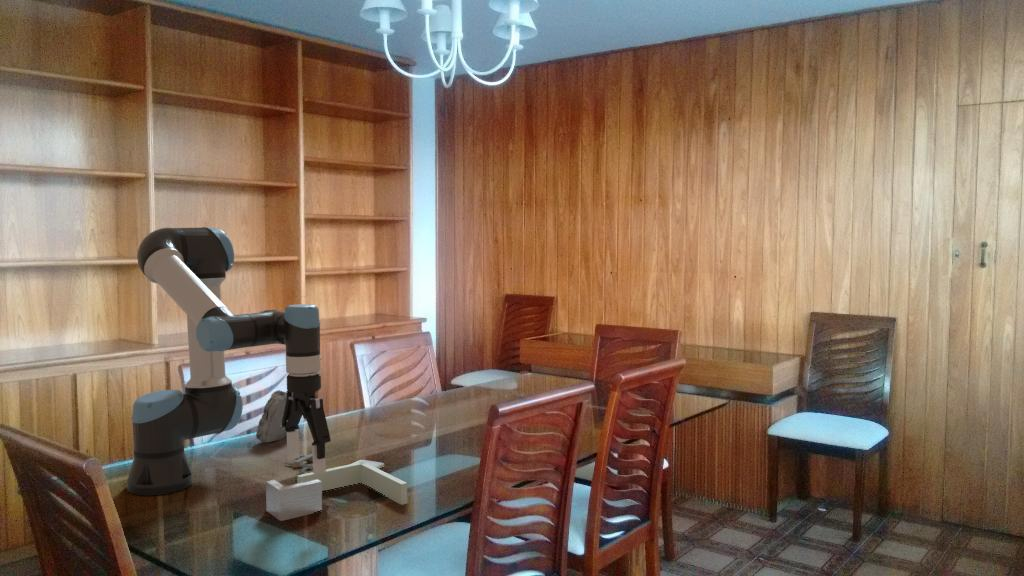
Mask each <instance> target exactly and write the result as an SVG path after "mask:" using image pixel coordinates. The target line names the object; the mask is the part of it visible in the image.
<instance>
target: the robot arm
mask: <svg viewBox="0 0 1024 576" xmlns="http://www.w3.org/2000/svg"><path fill="white" fill-rule="evenodd" d="M136 258H137V265H138V267H139V269H140V271H141V272H142V275H144V276H145V277H146V278H147V280H149V281H150V282H152V283H153V284H154V283H155V284H158V285H159V286H160V287H161V288H162V289H163V290H164V292H166V293H167V295H168V296H169V297H170V298H171V299H172V300H173V301H174V302H175V304H176V305H177V306H179V308H180V309H181V310H182V311H183V312H184V313H185V314H186V324H187V325H186V326H187V328H186V329H187V343H188V359H189V360H188V361H189V373H190V374H189V375H190V379H189V380H188V381H187V382H186V383H185V384H184V393H183V392H182V390H179V389H165V390H157V391H151V392H150V393H145V394H144V395H141V396H139V397H138V398H136V400H134V402H133V403H132V411H131V412H132V414H131V421H132V440H133V444H132V445H133V460H132V463H131V467H130V470H129V474H128V477H127V480H126V488H127V489H126V490H127V492H129V493H130V494H131V495H136V496H159V495H161V496H162V495H167V494H173V493H177V492H180V491H182V490H185V489H187V488H189V487H190V486H191V485H192V484H193V483H194V479H193V471H192V469H191V466H190V464H189V461H188V458H187V456H186V453H185V441H186V440H191V439H195V438H200V437H206V436H210V435H211V436H212V435H219V434H222V433H223V432H228V431H230V430H232V429H234V428H235V427H236V426H237V425H238V423H240V420H241V418H242V415H243V408H244V407H243V406H244V405H243V398H242V395H241V392H240V390H239V389H238V388H237V387H236V386H234V385H233V382H232V380H231V379H230V377H228V376H227V374H226V363H225V362H226V361H225V352H226V351H230V350H237V349H243V348H252V347H253V348H254V347H260V346H268V345H285V372H286V373H287V375H286V390H287V391H286V393H287V400H286V405H285V410H284V415H283V420H282V427H285V430H286V431H287V435H286V454H287V455H286V457H287V458H286V459H287V461H291V460H298V459H297V458H300V454H301V453H300V431H299V430H300V427H299V424H300V421H301V419H302V418H303V419H304V420H306V423H307V425H308V428H309V431H310V435H311V437H312V440H313V442H312V443H311V446H312V447H311V448H312V450H311V451H313V461H312V465H313V469H312V472H313V473H314V474H317V473H321V472H326V469H327V468H326V467H327V465H326V464H327V463H326V462H327V461H326V459H327V458H326V444H327V443H330V442H331V440H332V439H331V435H330V431H329V427H328V423H327V418H326V414H325V410H324V400H323V398H322V397H319V398H316V393H317V392H318V391H320V390H321V389H322V374H320V371H321V361H322V358H323V357H322V356H321V320H320V311H319V308H318V306H317V305H316V304H309V303H308V304H306V303H305V304H303V303H301V304H300V303H298V304H297V303H296V304H290V305H287V306H285V308H284V311H280V310H277V309H269V310H268V309H265V310H261V311H259V312H253V313H241V314H234V312H232V310H230V309H229V308H228V307H227V305H225V304H224V303H223V302H222V295H221V292H222V291H221V284H222V283H223V282H224V281H225V280H226V278H227V272H228V271H230V270H231V269H232V268H233V265H234V261H235V249H234V246H233V243H232V241H231V239H230V237H229V236H228V235H227V233H226V232H225V231H223V230H221V229H220V228H216V227H205V226H202V227H164V228H163V227H162V228H159V229H156V230H153V231H151V232H150V233H149V234H147V235H146V236H145V237H144V238H143V239H142V241H141V242H140V244H139V246H138V249H137V254H136ZM287 420H288V421H287Z"/></svg>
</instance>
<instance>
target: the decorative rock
mask: <svg viewBox="0 0 1024 576" xmlns="http://www.w3.org/2000/svg"><path fill="white" fill-rule="evenodd" d="M286 400H287V391H286V392H285V391H282V390H280V389H278V390H275V391H273V392H272V393H271V395H270V397H269V399H268V400H267V402H266V403H265V406H264V407H263V413H262V415H261V418H260V419H259V421H258V426H257V430H256V434H255V438H256V439H257V440H259V441H260V442H261V443H270V442H273V441H275V442H277V440H278V441H282V440H283V439H284V438H285V437H287V431H286V430H285V427H282V420H283V415H284V410H285V405H286ZM287 421H288V420H287Z"/></svg>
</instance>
